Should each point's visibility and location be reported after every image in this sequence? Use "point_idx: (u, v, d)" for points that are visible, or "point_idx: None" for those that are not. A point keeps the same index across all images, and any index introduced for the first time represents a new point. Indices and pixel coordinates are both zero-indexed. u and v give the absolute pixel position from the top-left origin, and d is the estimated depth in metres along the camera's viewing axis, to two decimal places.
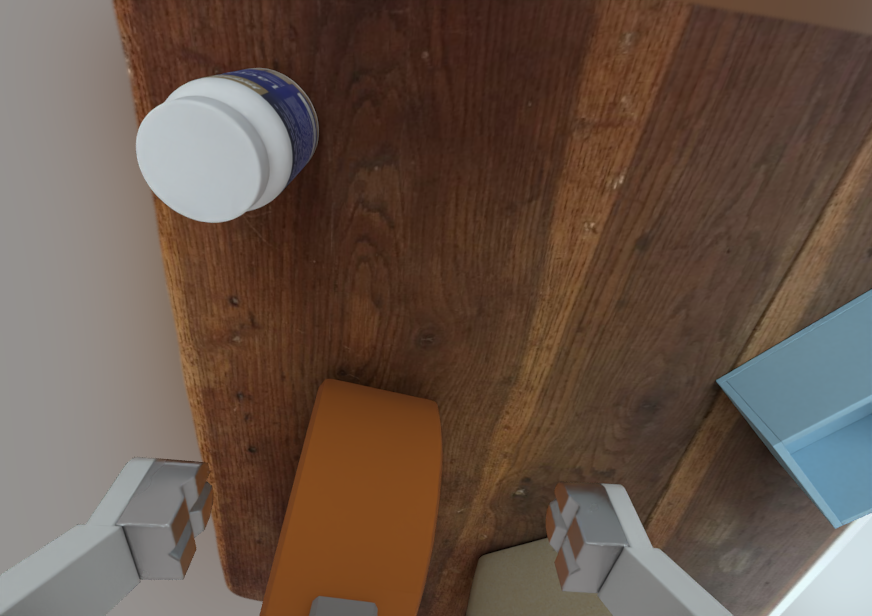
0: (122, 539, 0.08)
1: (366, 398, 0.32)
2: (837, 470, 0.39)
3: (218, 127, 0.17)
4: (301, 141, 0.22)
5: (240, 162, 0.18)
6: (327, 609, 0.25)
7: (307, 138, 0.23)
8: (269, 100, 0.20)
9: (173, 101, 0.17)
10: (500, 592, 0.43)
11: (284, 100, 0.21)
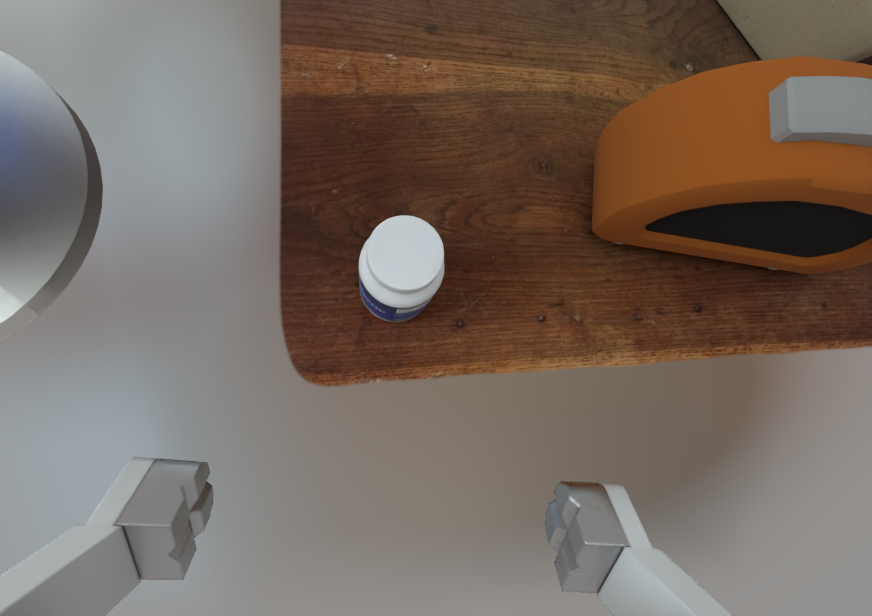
0: (122, 539, 0.08)
1: (598, 189, 0.37)
2: None
3: (379, 238, 0.27)
4: None
5: (398, 226, 0.28)
6: (779, 124, 0.28)
7: None
8: None
9: (369, 263, 0.27)
10: (806, 43, 0.42)
11: None
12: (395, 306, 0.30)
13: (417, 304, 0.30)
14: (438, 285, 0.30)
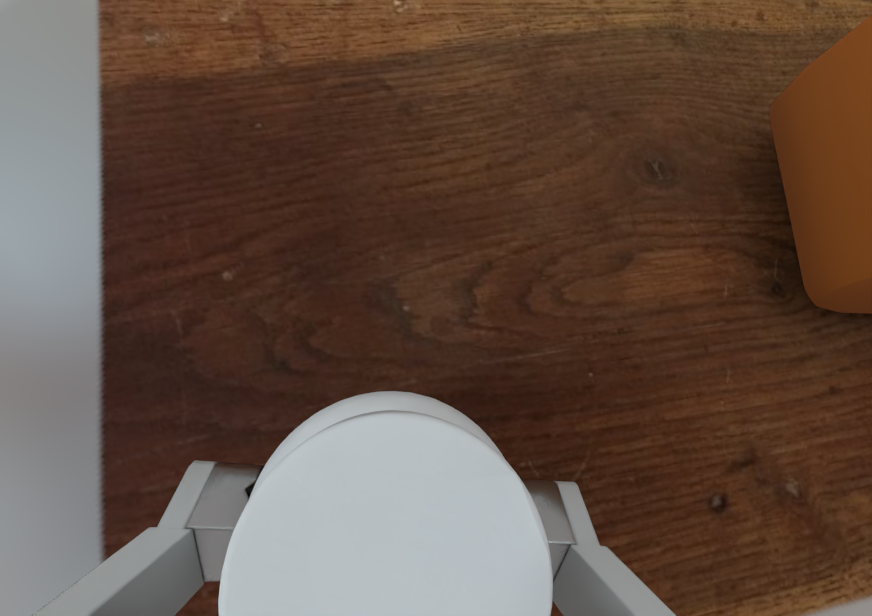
0: (192, 542, 0.09)
1: (822, 205, 0.16)
2: None
3: (272, 540, 0.06)
4: None
5: (350, 469, 0.07)
6: None
7: None
8: None
9: None
10: None
11: None
12: None
13: None
14: None
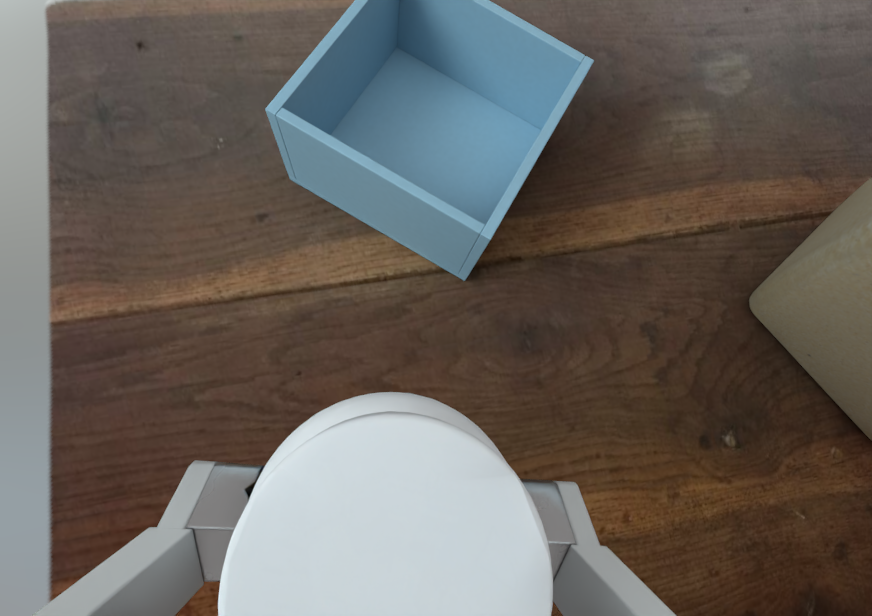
0: (192, 542, 0.09)
1: None
2: (524, 84, 0.30)
3: (272, 542, 0.06)
4: None
5: (350, 471, 0.07)
6: None
7: None
8: None
9: None
10: None
11: None
12: None
13: None
14: None
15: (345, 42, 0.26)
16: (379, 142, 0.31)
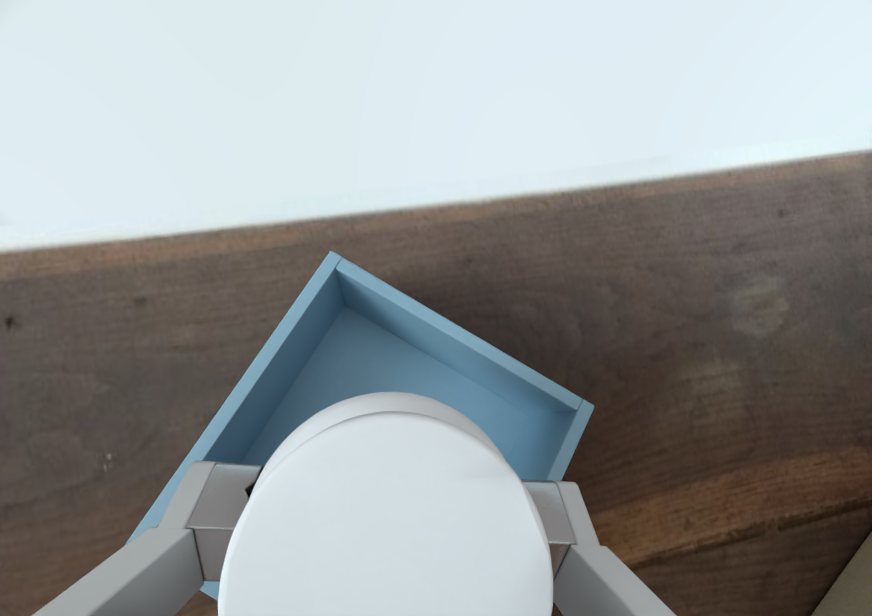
0: (192, 542, 0.09)
1: None
2: (503, 387, 0.23)
3: (272, 542, 0.06)
4: None
5: (350, 470, 0.07)
6: None
7: None
8: None
9: None
10: None
11: None
12: None
13: None
14: None
15: (255, 393, 0.19)
16: None
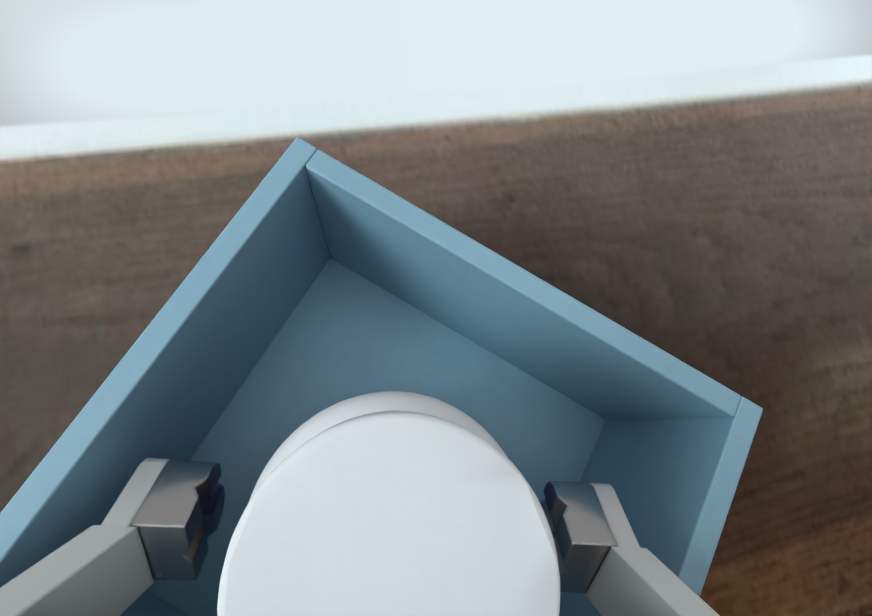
0: (137, 540, 0.09)
1: None
2: (580, 377, 0.14)
3: (273, 544, 0.06)
4: None
5: (353, 471, 0.06)
6: None
7: None
8: None
9: None
10: None
11: None
12: None
13: None
14: None
15: (156, 387, 0.10)
16: None
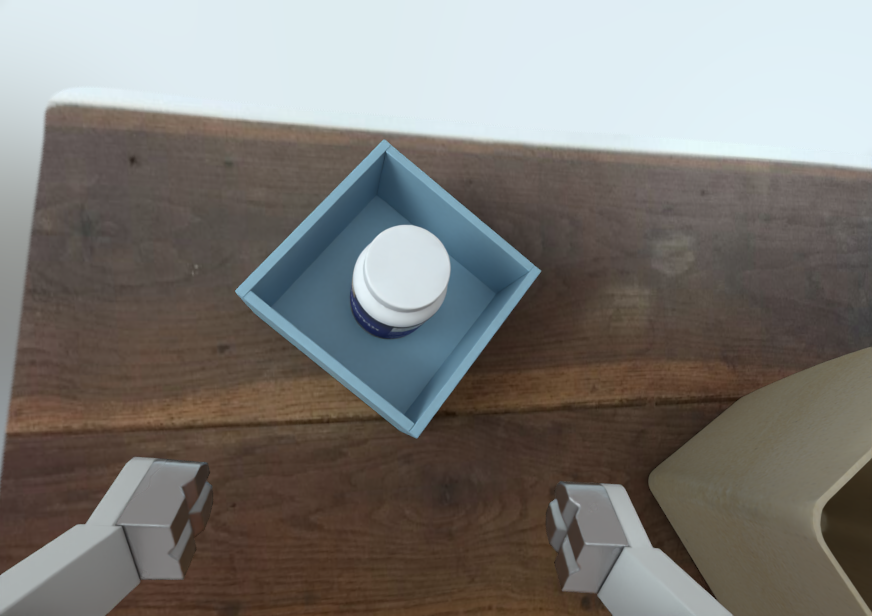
0: (122, 539, 0.08)
1: None
2: (482, 262, 0.33)
3: (380, 248, 0.24)
4: None
5: (401, 236, 0.25)
6: None
7: None
8: None
9: (367, 277, 0.24)
10: None
11: None
12: (392, 325, 0.27)
13: (416, 323, 0.27)
14: (440, 303, 0.27)
15: (321, 222, 0.28)
16: (344, 288, 0.34)
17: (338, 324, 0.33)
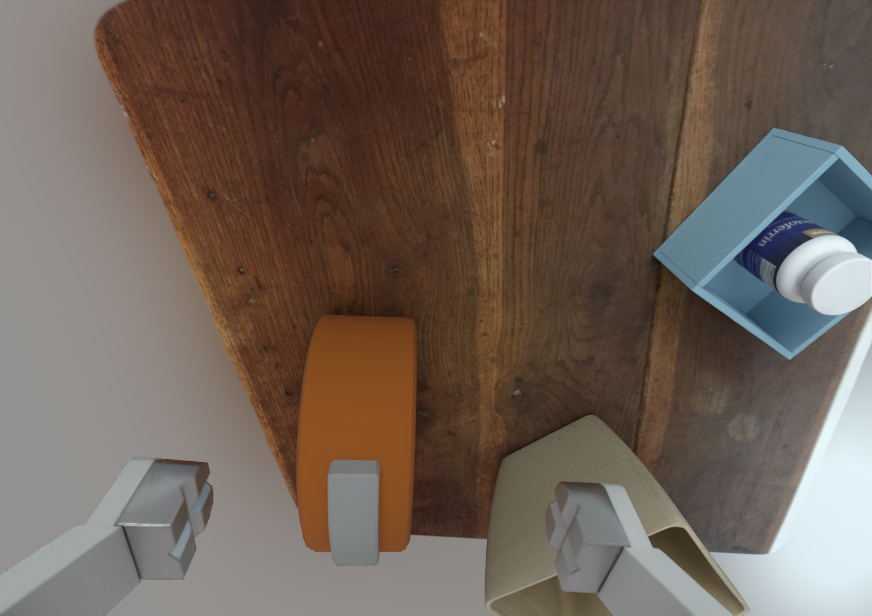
0: (122, 539, 0.08)
1: (352, 322, 0.40)
2: (788, 310, 0.42)
3: (866, 268, 0.32)
4: None
5: (871, 281, 0.33)
6: (340, 466, 0.34)
7: None
8: None
9: (847, 261, 0.32)
10: (517, 479, 0.50)
11: None
12: (782, 267, 0.35)
13: (778, 284, 0.36)
14: (790, 299, 0.37)
15: None
16: None
17: None
